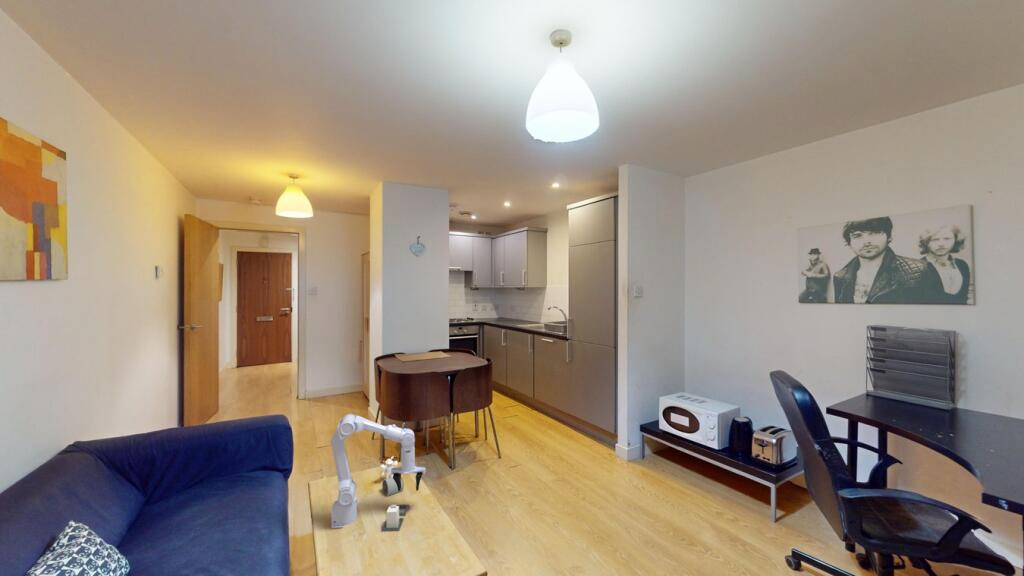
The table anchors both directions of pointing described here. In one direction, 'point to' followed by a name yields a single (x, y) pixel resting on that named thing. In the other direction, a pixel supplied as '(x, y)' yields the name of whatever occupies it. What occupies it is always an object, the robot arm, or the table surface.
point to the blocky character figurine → (388, 467)
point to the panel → (402, 512)
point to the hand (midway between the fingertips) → (408, 489)
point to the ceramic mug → (391, 486)
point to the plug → (392, 516)
